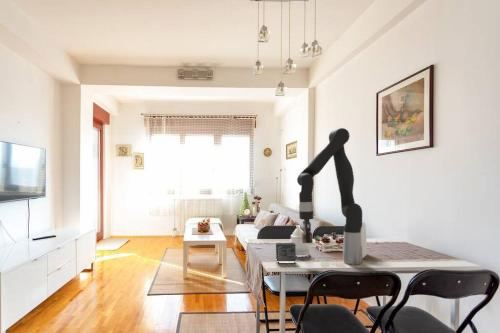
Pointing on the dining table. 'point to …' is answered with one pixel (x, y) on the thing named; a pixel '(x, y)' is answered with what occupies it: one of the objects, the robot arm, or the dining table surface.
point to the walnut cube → (305, 237)
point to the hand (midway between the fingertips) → (307, 241)
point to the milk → (363, 240)
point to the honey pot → (299, 242)
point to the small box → (285, 252)
